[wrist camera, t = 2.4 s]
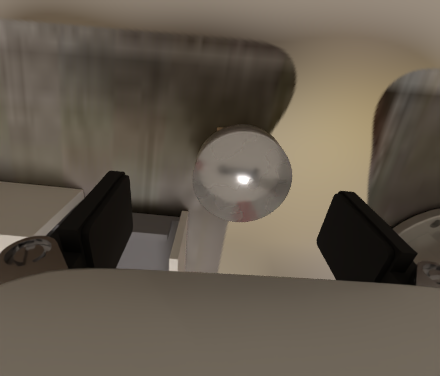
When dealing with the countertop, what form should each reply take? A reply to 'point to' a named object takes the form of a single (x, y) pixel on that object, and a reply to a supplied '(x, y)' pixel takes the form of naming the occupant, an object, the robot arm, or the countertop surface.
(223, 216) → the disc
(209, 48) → the countertop surface
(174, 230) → the drawer
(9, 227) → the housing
